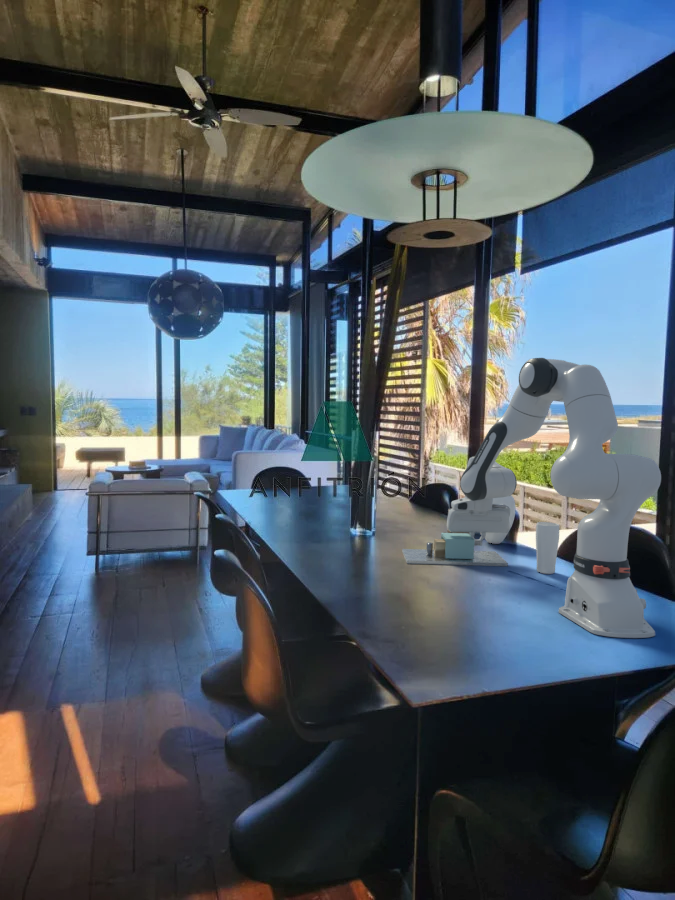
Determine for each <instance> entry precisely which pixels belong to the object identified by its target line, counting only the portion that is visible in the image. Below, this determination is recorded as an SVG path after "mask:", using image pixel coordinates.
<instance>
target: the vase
mask: <svg viewBox="0 0 675 900" xmlns="http://www.w3.org/2000/svg"><path fill="white" fill-rule="evenodd" d="M493 504H498V505H506V506H508V507H509V508H510V516H509V526H510V529H509V531H508V532H507V533H487V532H486V536H485V538H484V539H485V541H486V542H487V543H489V544H491V543H492V545H499V544H501V543H503V541H504V540H505V538H506V537H507V535H508V533H509V532H510V530H511V528H512V526H513V524H514V520H515V516H516V500H515V497H514V496H513V494H512V495H511V496H508V497H502V498H493ZM506 508H507V507H506Z"/></svg>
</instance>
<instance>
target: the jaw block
mask: <svg viewBox="0 0 675 900" xmlns="http://www.w3.org/2000/svg"><path fill="white" fill-rule="evenodd" d="M445 547H446V541H445V539H441V538H439V539H437V538H434V541H433V550H434V555H435V557H445Z"/></svg>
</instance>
